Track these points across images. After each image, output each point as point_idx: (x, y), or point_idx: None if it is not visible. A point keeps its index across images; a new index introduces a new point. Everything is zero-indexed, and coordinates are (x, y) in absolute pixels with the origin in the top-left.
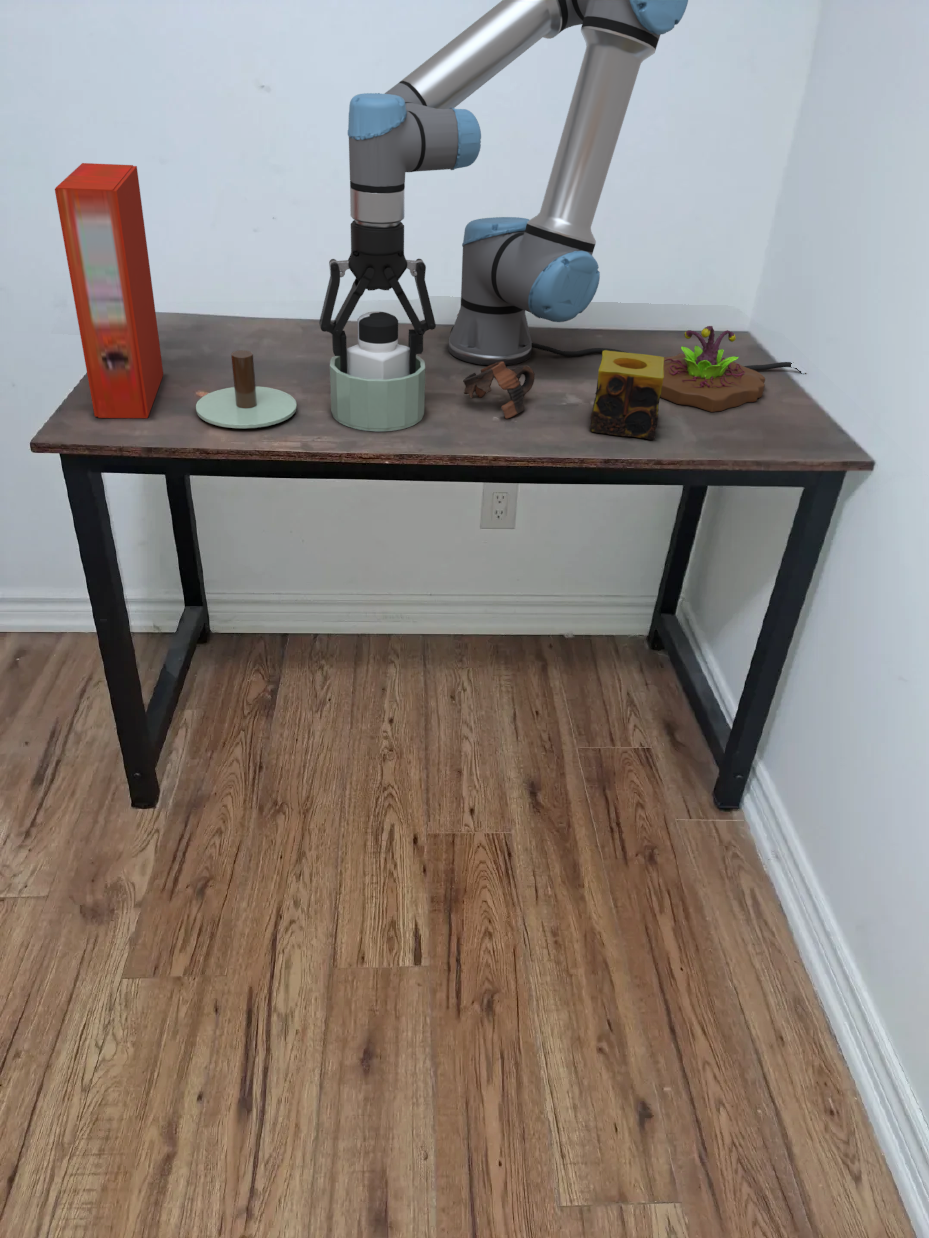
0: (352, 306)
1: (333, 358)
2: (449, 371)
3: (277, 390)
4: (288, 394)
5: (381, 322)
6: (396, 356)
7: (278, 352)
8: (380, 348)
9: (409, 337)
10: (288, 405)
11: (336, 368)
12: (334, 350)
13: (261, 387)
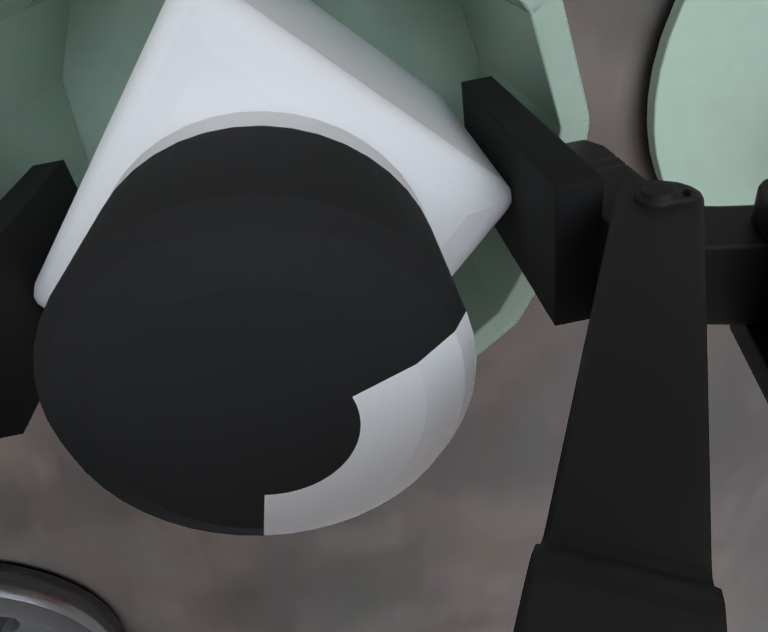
0: (613, 400)
1: None
2: (73, 505)
3: None
4: None
5: (191, 270)
6: (101, 141)
7: None
8: (223, 116)
9: (17, 363)
10: (694, 68)
11: (552, 69)
12: (603, 152)
13: None
